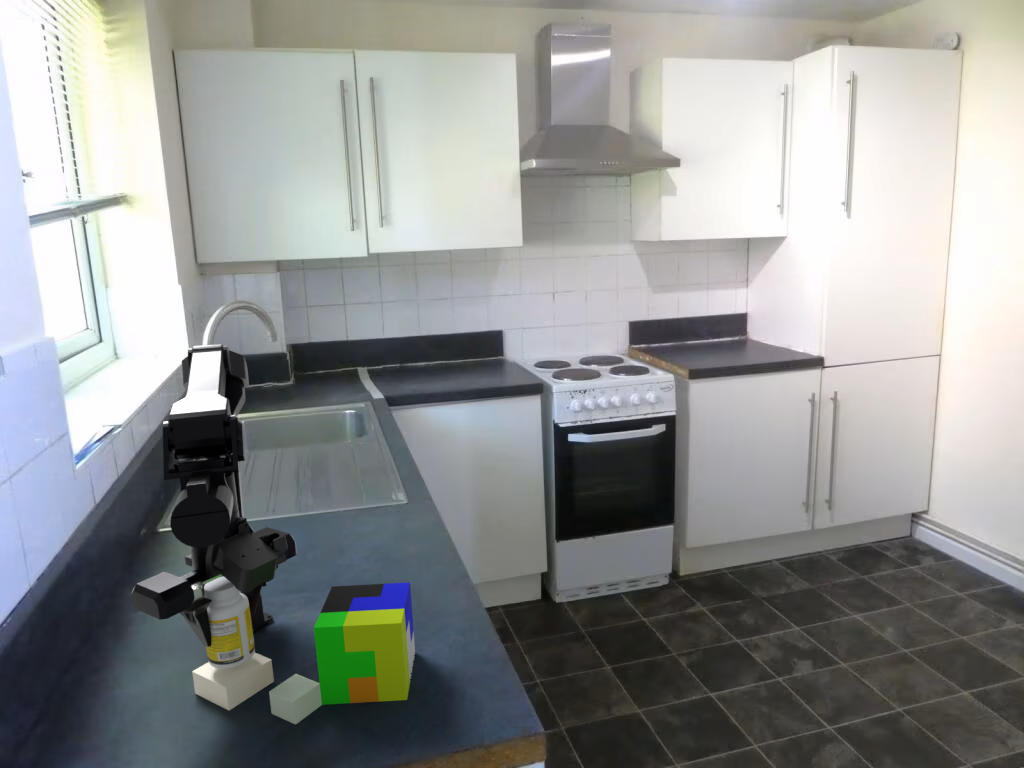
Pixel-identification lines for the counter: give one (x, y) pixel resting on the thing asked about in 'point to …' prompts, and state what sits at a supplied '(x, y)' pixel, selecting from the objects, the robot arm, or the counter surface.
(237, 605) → the supplement bottle
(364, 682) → the puzzle toy
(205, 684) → the base brick
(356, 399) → the counter surface
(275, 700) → the brick
